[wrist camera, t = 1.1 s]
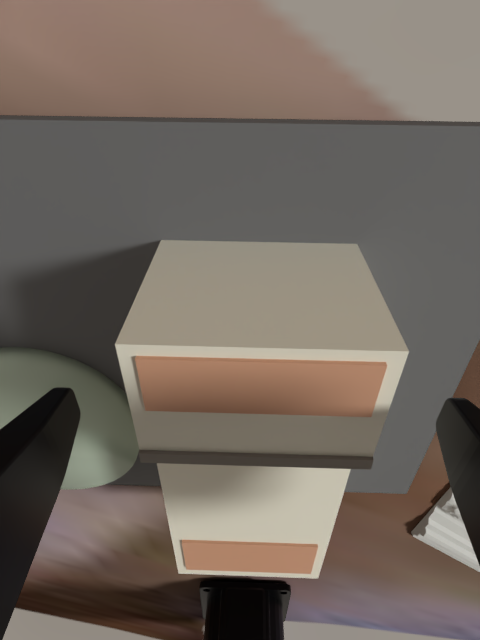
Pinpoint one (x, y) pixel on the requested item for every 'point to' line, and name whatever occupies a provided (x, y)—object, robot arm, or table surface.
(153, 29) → the table surface
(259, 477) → the cream labeled box
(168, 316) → the cream block
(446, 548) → the crown molding
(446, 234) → the mat
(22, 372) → the coaster
